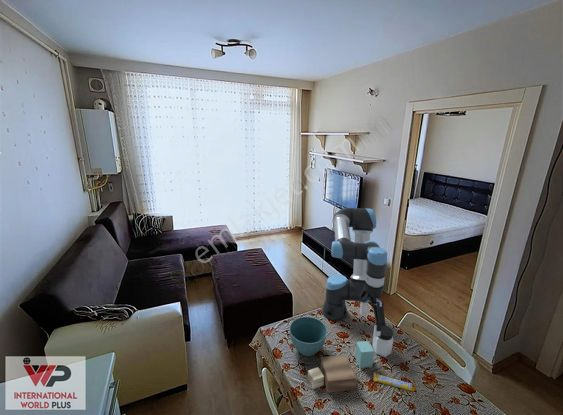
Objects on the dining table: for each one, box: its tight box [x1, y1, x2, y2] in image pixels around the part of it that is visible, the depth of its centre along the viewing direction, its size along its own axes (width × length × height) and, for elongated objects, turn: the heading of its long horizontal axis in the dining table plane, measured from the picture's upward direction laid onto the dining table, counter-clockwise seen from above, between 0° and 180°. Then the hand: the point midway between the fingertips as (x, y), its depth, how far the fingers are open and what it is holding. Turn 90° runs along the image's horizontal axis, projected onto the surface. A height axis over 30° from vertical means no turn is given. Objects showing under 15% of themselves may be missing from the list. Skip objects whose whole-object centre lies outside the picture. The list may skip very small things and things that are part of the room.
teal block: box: [354, 340, 375, 369], centre depth 121 cm, size 6×6×9 cm
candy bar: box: [373, 372, 416, 393], centre depth 112 cm, size 17×4×2 cm, turn 71°
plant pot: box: [289, 316, 328, 357], centre depth 128 cm, size 18×18×12 cm
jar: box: [371, 324, 394, 358], centre depth 128 cm, size 9×8×12 cm
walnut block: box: [320, 354, 357, 393], centre depth 113 cm, size 12×12×6 cm
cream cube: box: [307, 366, 325, 390], centre depth 111 cm, size 5×5×5 cm
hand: (369, 324), depth 116 cm, fingers open, 13 cm apart
